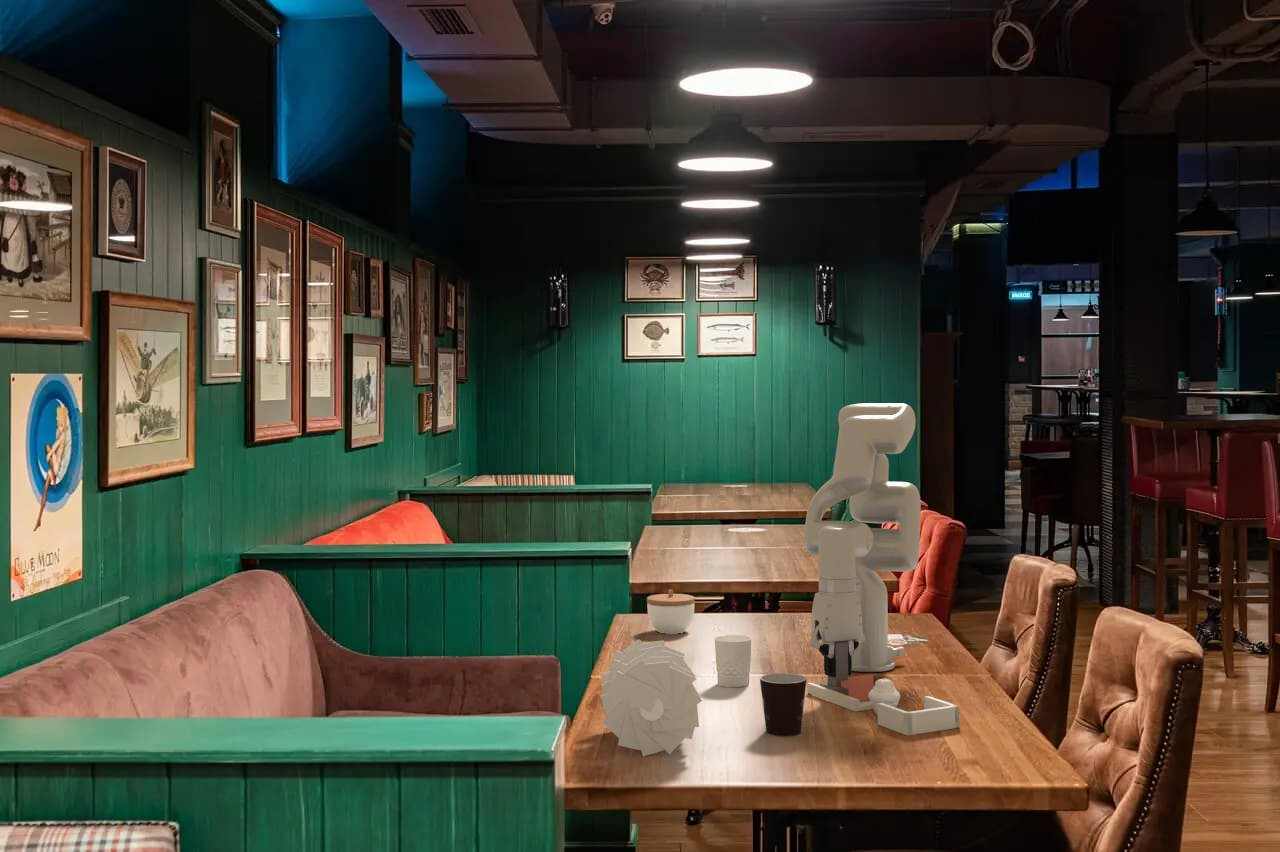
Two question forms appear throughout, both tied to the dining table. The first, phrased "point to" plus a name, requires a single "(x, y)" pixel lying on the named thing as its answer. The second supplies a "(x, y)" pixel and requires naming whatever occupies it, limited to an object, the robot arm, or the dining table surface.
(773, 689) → the coffee mug
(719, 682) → the white cup
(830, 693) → the track
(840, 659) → the block
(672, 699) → the spiral staircase
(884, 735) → the dining table surface
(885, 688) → the white ribbed dome
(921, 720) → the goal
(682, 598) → the lidded bowl
